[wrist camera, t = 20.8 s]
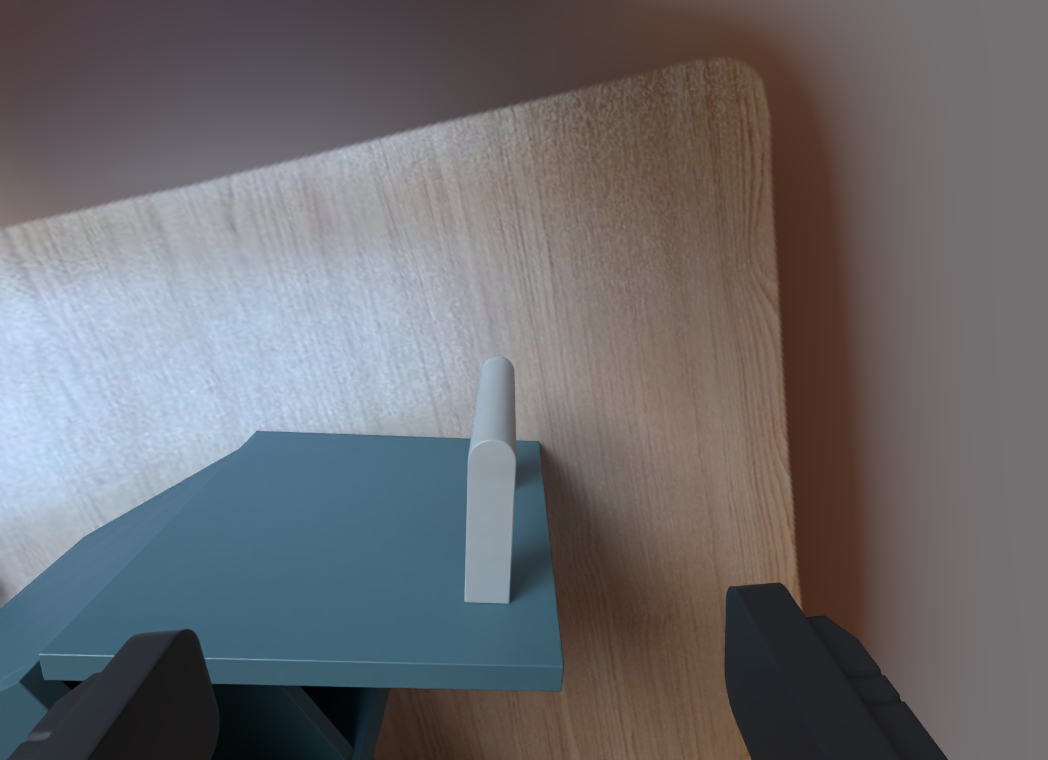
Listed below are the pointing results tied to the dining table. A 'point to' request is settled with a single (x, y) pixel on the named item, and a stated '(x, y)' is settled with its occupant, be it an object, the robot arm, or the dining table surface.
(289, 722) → the cupboard
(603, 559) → the dining table surface
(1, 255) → the dining table surface
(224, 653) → the cupboard door
